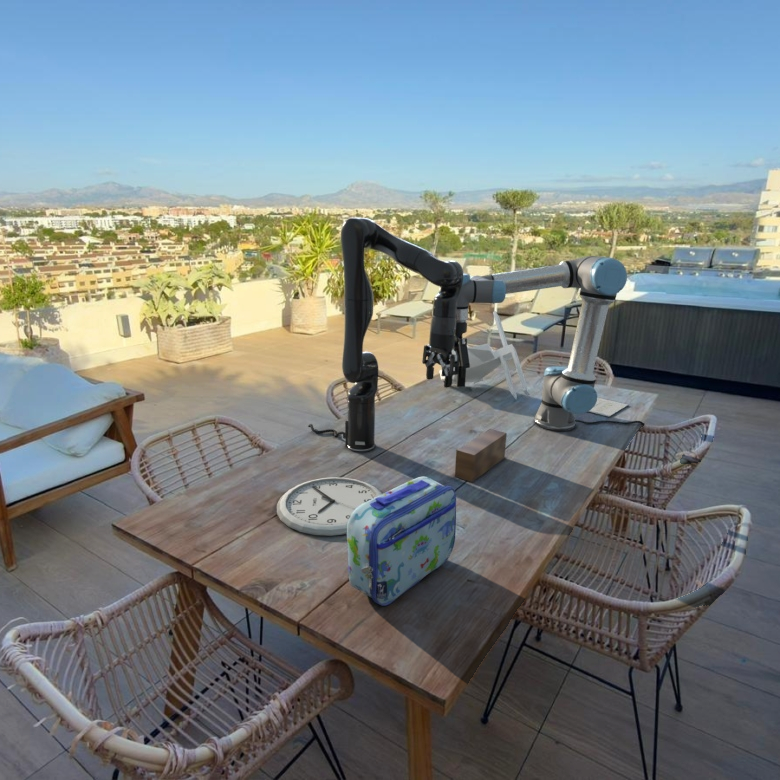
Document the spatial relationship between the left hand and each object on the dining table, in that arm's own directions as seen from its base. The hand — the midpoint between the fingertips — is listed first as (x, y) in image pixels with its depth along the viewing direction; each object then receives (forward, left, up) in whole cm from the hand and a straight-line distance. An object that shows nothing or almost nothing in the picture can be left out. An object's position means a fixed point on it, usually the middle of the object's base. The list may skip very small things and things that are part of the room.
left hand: (438, 382), depth 159 cm
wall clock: (-13, -37, -28) cm, 48 cm away
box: (+13, +8, -28) cm, 32 cm away
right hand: (-5, +23, -6) cm, 24 cm away
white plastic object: (-17, +82, -28) cm, 88 cm away
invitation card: (+35, +92, -28) cm, 102 cm away
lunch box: (+19, -54, -28) cm, 64 cm away
